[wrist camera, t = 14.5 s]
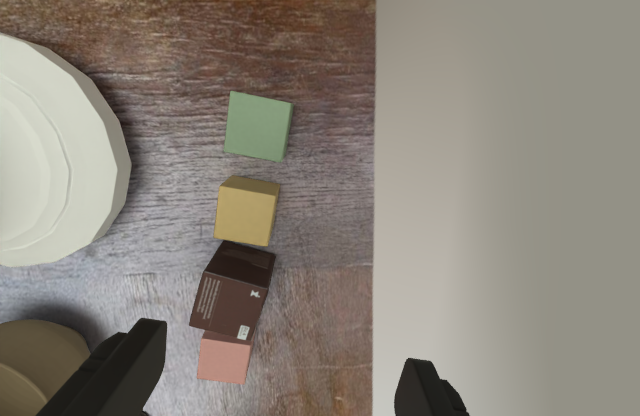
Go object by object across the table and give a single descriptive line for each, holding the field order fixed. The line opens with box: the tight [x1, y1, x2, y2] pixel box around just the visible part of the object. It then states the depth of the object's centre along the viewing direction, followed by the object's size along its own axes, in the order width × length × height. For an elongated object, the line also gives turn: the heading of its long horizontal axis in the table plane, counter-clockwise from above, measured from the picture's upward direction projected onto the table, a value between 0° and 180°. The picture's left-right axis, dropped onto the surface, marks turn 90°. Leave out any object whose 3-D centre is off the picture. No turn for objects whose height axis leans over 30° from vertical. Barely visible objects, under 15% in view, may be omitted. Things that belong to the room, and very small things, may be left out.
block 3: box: [197, 329, 256, 385], centre depth 37 cm, size 5×5×5 cm
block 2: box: [213, 175, 280, 247], centre depth 32 cm, size 5×5×5 cm
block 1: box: [224, 91, 294, 163], centre depth 30 cm, size 5×5×5 cm
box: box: [189, 240, 276, 341], centre depth 33 cm, size 6×6×7 cm
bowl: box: [0, 320, 91, 416], centre depth 34 cm, size 13×13×10 cm
